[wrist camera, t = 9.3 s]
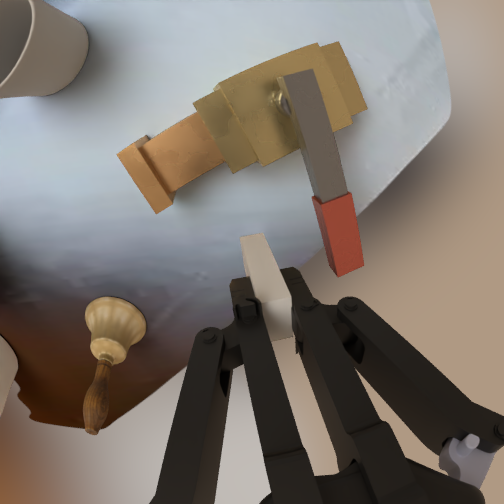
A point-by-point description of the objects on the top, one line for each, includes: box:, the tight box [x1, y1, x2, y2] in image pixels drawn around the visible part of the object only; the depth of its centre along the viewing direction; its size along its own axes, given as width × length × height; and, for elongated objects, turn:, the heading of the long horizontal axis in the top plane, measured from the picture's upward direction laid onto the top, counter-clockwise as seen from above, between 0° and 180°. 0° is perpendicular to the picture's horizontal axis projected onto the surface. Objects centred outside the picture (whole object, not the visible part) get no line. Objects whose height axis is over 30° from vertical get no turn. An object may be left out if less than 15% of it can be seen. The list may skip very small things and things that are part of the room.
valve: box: [117, 41, 367, 214], centre depth 22 cm, size 20×7×7 cm, turn 117°
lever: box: [275, 69, 364, 277], centre depth 20 cm, size 15×2×4 cm, turn 20°
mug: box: [0, 0, 89, 98], centre depth 13 cm, size 12×8×11 cm
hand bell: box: [83, 297, 146, 435], centre depth 27 cm, size 8×8×16 cm
